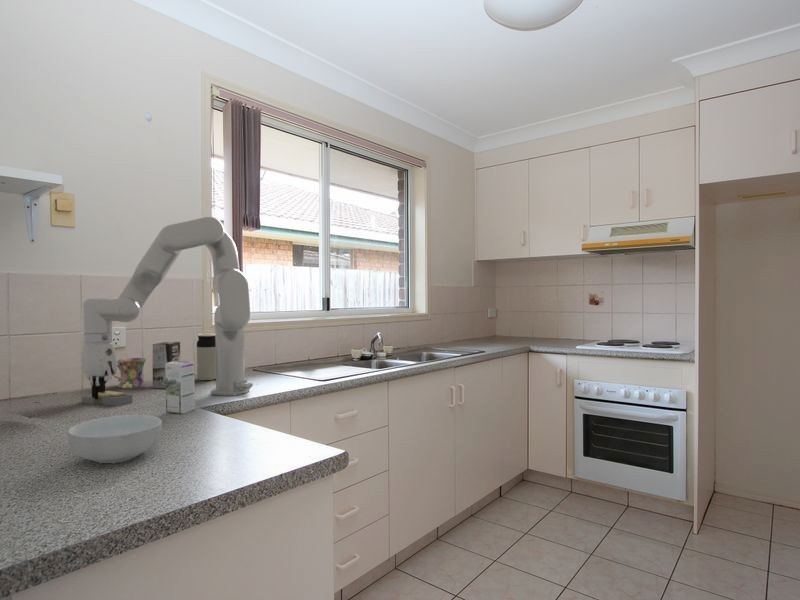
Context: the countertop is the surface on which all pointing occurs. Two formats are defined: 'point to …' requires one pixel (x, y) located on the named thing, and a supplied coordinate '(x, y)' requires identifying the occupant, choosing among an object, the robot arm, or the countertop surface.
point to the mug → (131, 372)
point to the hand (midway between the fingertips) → (98, 398)
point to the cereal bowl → (114, 437)
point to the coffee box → (163, 361)
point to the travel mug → (206, 357)
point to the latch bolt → (109, 393)
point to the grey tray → (110, 400)
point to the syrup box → (180, 386)
